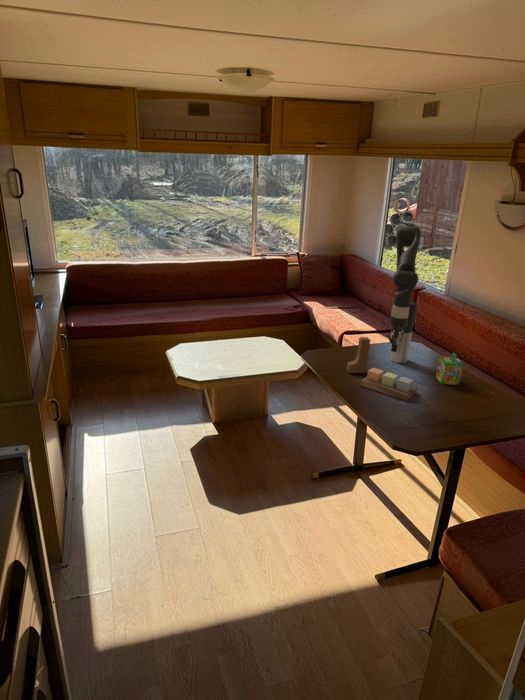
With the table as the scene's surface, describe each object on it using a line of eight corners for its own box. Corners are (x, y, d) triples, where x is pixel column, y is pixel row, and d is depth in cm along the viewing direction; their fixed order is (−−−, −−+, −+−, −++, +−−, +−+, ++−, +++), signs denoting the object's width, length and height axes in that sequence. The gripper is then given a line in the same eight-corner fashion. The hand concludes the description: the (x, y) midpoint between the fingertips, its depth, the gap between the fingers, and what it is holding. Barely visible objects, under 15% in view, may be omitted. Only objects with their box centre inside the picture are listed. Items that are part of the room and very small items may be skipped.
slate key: (400, 386, 234) (402, 376, 233) (411, 389, 231) (413, 379, 230) (395, 389, 230) (397, 379, 229) (407, 393, 227) (408, 383, 225)
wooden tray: (372, 378, 247) (372, 372, 246) (416, 392, 234) (417, 386, 233) (360, 385, 238) (361, 379, 237) (406, 400, 225) (407, 394, 224)
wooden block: (348, 373, 251) (353, 339, 245) (346, 369, 255) (350, 336, 249) (365, 373, 252) (370, 340, 246) (363, 369, 257) (367, 337, 250)
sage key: (386, 381, 239) (387, 371, 237) (396, 384, 236) (398, 375, 234) (381, 384, 235) (382, 375, 233) (391, 388, 231) (393, 378, 230)
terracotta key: (371, 376, 243) (373, 367, 241) (382, 380, 240) (383, 370, 238) (366, 380, 239) (368, 370, 237) (377, 383, 236) (378, 373, 234)
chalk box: (434, 377, 253) (440, 350, 248) (452, 377, 254) (458, 350, 248) (441, 384, 245) (446, 356, 239) (459, 385, 245) (465, 357, 240)
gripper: (398, 310, 230) (392, 346, 236) (385, 316, 220) (379, 352, 226) (413, 314, 226) (407, 350, 232) (401, 319, 216) (395, 357, 222)
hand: (393, 351), depth 229 cm, fingers closed
